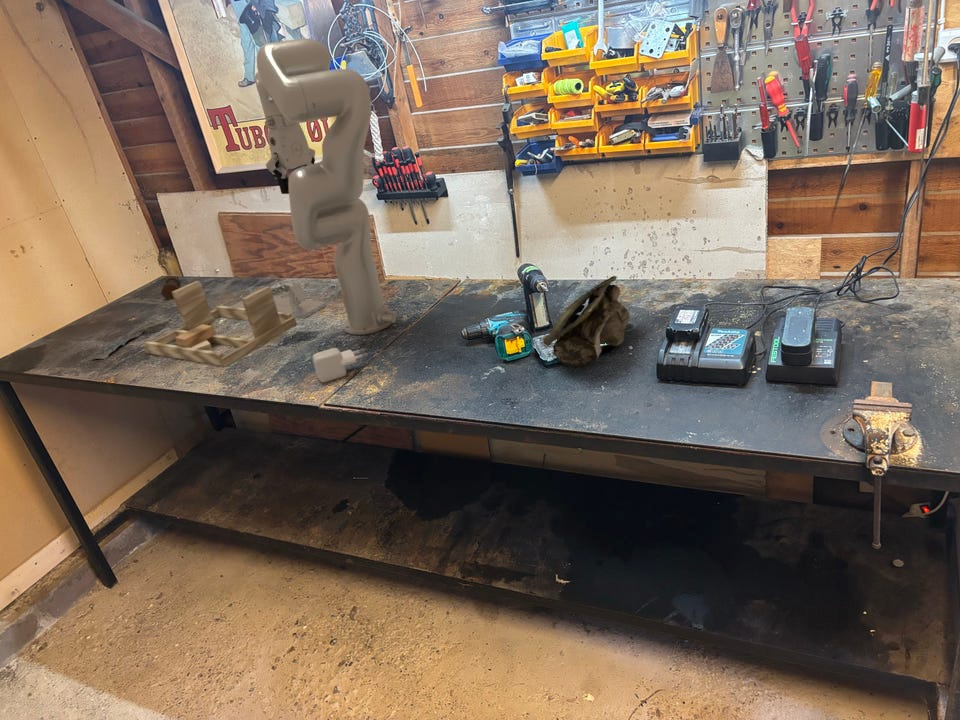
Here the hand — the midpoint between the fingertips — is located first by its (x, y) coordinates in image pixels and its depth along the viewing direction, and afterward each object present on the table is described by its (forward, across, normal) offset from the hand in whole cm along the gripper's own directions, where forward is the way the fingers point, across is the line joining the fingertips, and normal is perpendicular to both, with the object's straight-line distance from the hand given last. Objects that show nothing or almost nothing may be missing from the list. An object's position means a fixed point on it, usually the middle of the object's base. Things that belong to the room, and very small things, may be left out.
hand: (299, 188), depth 171 cm
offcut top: (+28, -39, +8) cm, 48 cm away
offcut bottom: (+31, -39, +8) cm, 50 cm away
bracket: (+30, -12, +8) cm, 33 cm away
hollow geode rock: (+31, -16, -86) cm, 92 cm away
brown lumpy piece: (+31, -8, +58) cm, 67 cm away
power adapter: (+31, -39, -39) cm, 63 cm away
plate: (+30, -12, +8) cm, 34 cm away
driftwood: (+31, -41, +38) cm, 64 cm away
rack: (+30, -32, +8) cm, 45 cm away
